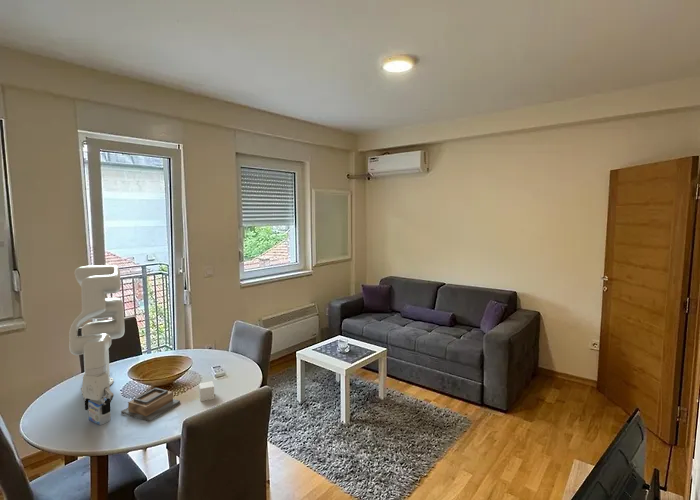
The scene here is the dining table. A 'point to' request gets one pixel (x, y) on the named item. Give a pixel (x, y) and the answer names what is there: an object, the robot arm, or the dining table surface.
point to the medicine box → (97, 412)
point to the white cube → (206, 391)
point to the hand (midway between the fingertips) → (97, 410)
